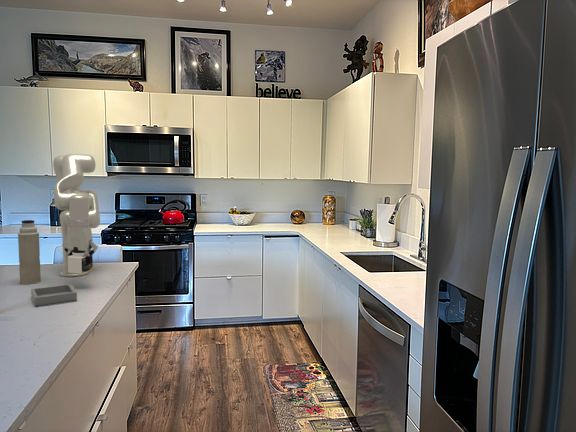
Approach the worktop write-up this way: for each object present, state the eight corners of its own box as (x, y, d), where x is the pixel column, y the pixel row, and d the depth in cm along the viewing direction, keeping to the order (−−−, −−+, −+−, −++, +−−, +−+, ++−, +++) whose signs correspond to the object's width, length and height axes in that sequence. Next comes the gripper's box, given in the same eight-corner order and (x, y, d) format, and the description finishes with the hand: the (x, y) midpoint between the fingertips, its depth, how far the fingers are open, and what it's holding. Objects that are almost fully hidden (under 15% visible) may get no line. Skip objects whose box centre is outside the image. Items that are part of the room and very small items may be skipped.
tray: (31, 297, 167) (31, 288, 166) (70, 292, 175) (70, 284, 175) (35, 307, 155) (35, 298, 155) (76, 301, 164) (76, 292, 163)
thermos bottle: (37, 278, 194) (35, 218, 191) (43, 282, 189) (41, 220, 186) (17, 281, 188) (15, 220, 185) (23, 285, 183) (20, 221, 180)
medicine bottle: (82, 274, 178) (81, 246, 176) (67, 272, 179) (66, 245, 177) (93, 269, 185) (92, 243, 183) (78, 268, 186) (78, 242, 184)
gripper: (54, 223, 177) (56, 264, 179) (92, 226, 174) (93, 267, 177) (66, 221, 184) (67, 260, 186) (103, 223, 181) (103, 263, 184)
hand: (80, 263), depth 181 cm, fingers closed on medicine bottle, 7 cm apart
